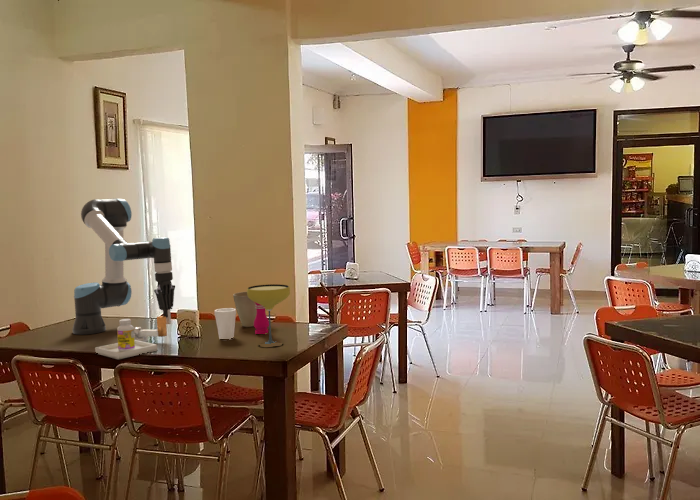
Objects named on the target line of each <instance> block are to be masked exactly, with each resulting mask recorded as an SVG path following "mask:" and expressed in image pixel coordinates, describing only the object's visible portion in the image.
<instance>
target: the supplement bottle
mask: <svg viewBox="0 0 700 500" xmlns="http://www.w3.org/2000/svg"><path fill="white" fill-rule="evenodd" d="M118 323H119V326H117V329H116V333H117V343H118V350H119V351H128V350H133V349H135V341H134V325H132V324H131V323H132V319H130V318H122V319H119V321H118Z"/></svg>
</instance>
